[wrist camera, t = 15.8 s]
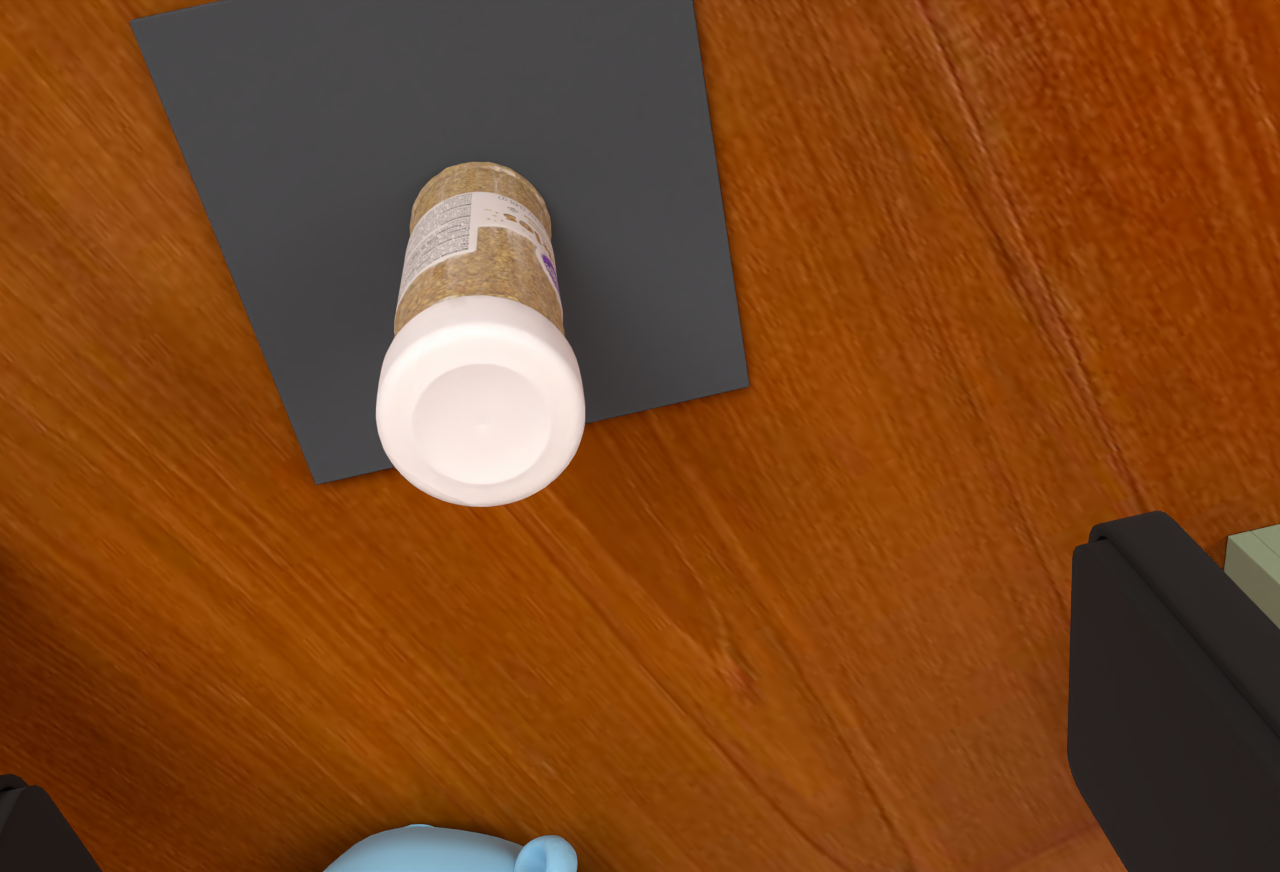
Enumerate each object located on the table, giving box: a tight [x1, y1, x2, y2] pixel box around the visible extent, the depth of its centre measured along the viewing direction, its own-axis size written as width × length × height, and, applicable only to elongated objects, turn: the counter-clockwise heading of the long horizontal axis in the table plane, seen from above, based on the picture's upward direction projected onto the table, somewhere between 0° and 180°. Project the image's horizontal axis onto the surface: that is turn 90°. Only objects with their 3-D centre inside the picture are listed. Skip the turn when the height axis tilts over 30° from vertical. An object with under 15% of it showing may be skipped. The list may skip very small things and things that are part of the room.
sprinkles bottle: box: [376, 162, 585, 507], centre depth 29 cm, size 5×5×13 cm
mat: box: [130, 0, 749, 485], centre depth 35 cm, size 16×16×1 cm
